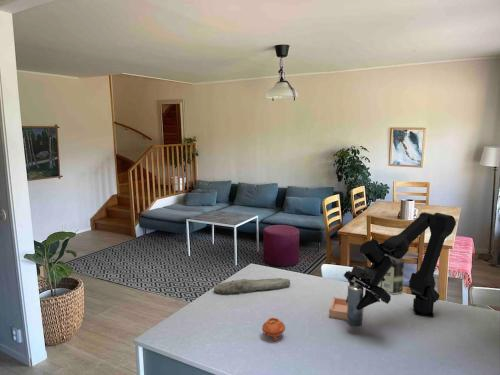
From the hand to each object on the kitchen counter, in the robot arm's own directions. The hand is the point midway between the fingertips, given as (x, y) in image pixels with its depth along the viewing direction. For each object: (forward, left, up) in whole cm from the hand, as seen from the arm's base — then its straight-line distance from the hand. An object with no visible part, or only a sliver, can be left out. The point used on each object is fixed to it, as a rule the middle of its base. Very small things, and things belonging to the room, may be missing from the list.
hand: (351, 306), depth 129 cm
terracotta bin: (+3, -14, -10) cm, 17 cm away
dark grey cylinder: (-1, -1, -7) cm, 7 cm away
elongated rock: (+45, -24, -10) cm, 52 cm away
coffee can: (-13, -42, -10) cm, 45 cm away
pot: (+25, +11, -10) cm, 29 cm away
